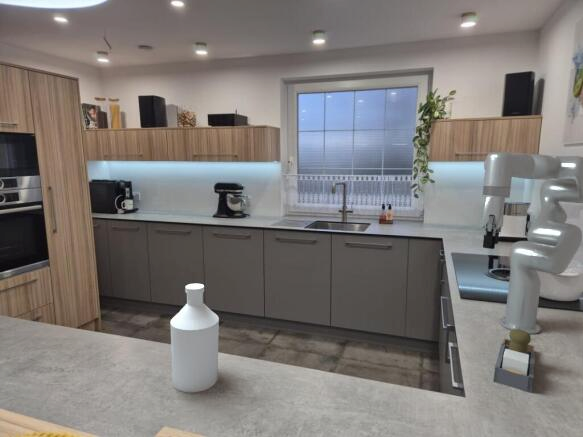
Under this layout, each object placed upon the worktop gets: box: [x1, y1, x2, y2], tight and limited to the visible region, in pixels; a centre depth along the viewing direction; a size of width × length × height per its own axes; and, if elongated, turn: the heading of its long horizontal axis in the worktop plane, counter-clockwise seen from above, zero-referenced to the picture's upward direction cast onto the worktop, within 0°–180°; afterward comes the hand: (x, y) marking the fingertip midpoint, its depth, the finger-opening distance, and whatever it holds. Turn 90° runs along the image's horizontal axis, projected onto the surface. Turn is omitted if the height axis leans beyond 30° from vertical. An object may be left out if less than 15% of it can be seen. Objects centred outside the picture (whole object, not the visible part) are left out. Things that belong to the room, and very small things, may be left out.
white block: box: [502, 349, 529, 376], centre depth 99 cm, size 6×6×7 cm
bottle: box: [170, 283, 220, 393], centre depth 94 cm, size 12×12×25 cm
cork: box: [508, 329, 532, 354], centre depth 106 cm, size 6×6×11 cm
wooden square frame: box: [502, 338, 536, 352], centre depth 114 cm, size 8×8×2 cm
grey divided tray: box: [493, 343, 536, 394], centre depth 103 cm, size 17×9×4 cm, turn 145°
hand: (490, 245), depth 118 cm, fingers open, 9 cm apart
